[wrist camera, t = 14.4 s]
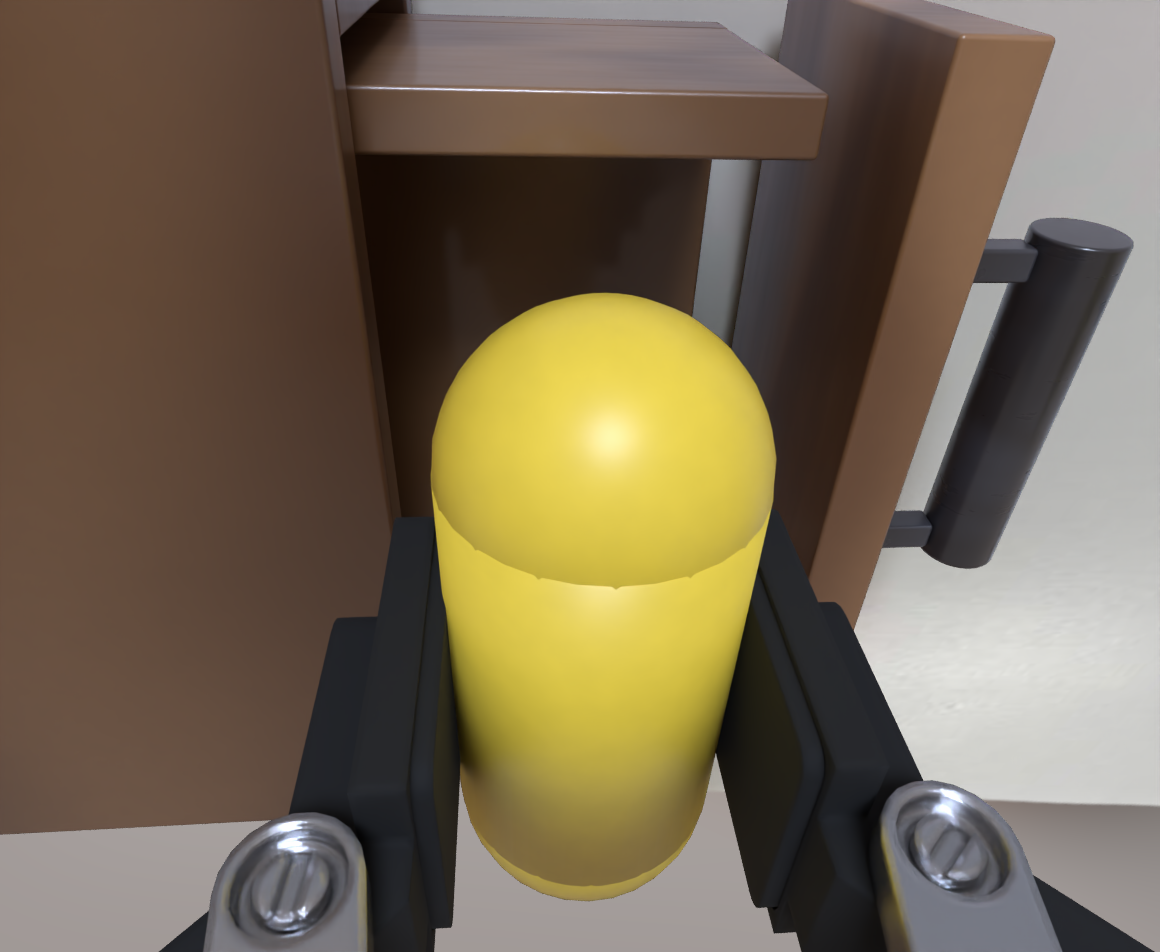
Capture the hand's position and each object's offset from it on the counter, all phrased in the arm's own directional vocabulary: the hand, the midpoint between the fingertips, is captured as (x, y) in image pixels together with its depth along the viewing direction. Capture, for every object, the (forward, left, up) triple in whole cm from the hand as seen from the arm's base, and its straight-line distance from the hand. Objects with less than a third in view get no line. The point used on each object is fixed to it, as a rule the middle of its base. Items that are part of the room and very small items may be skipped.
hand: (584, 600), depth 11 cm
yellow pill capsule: (0, +1, 0) cm, 1 cm away
